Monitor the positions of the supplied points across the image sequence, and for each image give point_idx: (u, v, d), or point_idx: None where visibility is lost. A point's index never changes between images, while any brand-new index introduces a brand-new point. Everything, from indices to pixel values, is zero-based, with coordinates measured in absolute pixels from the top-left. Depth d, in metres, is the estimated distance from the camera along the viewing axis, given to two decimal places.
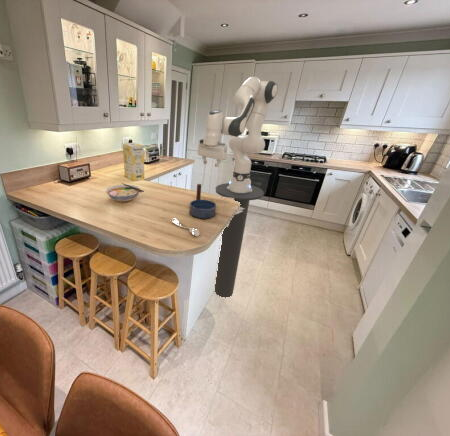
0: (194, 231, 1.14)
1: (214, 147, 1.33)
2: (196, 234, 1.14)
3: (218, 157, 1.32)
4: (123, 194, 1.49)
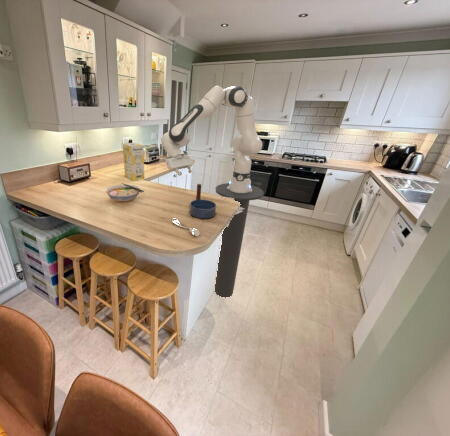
0: (194, 231, 1.14)
1: None
2: (196, 234, 1.14)
3: None
4: (123, 194, 1.49)
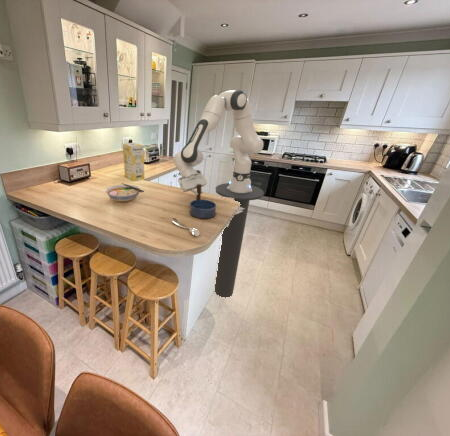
0: (194, 231, 1.14)
1: None
2: (196, 234, 1.14)
3: None
4: (123, 194, 1.49)
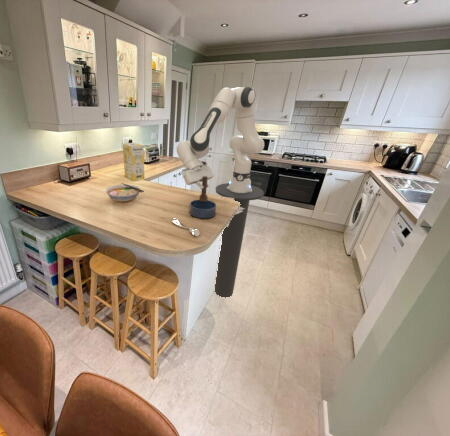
0: (194, 231, 1.14)
1: None
2: (196, 234, 1.14)
3: None
4: (123, 194, 1.49)
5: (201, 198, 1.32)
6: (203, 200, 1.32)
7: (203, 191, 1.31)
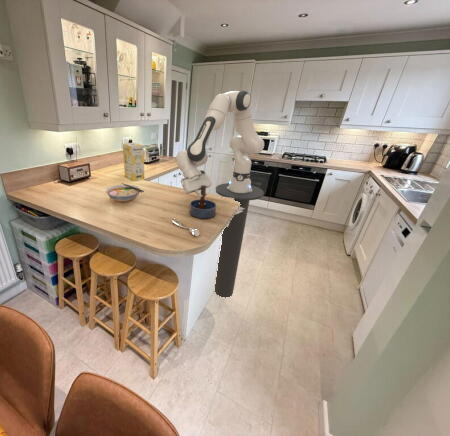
0: (194, 231, 1.14)
1: None
2: (196, 234, 1.14)
3: None
4: (123, 194, 1.49)
5: (200, 206, 1.36)
6: (202, 208, 1.36)
7: (202, 199, 1.35)
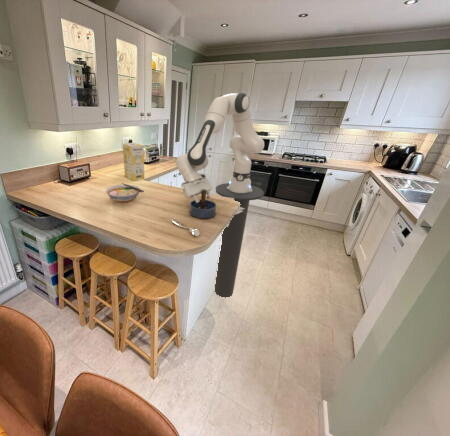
0: (194, 231, 1.14)
1: None
2: (196, 234, 1.14)
3: None
4: (123, 194, 1.49)
5: None
6: None
7: (202, 204, 1.34)
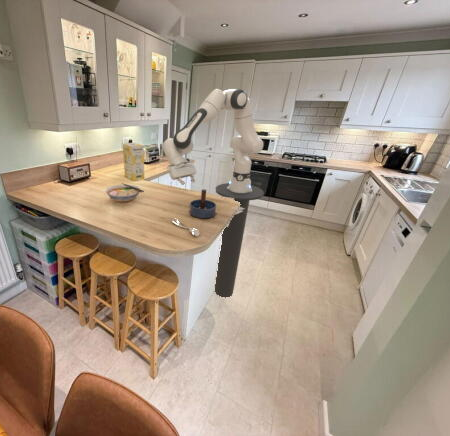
0: (194, 231, 1.14)
1: None
2: (196, 234, 1.14)
3: None
4: (123, 194, 1.49)
5: None
6: None
7: (202, 204, 1.34)
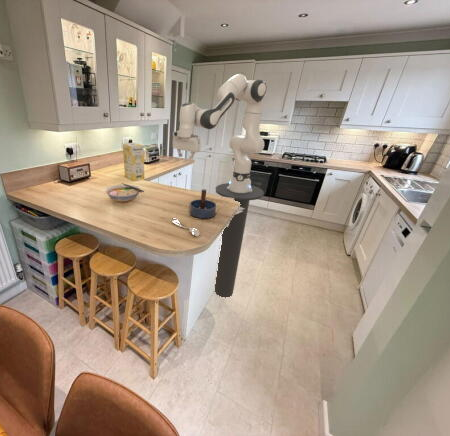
0: (194, 231, 1.14)
1: (188, 139, 1.33)
2: (196, 234, 1.14)
3: (192, 149, 1.32)
4: (123, 194, 1.49)
5: None
6: None
7: (202, 204, 1.34)
